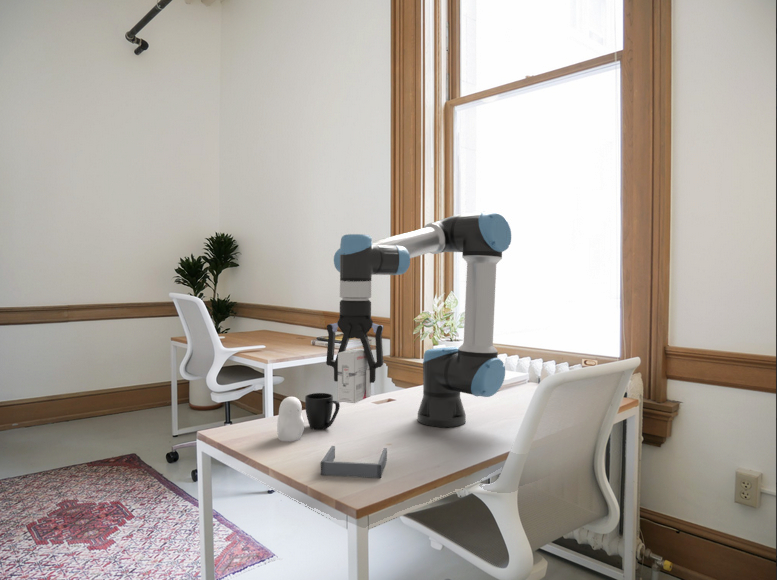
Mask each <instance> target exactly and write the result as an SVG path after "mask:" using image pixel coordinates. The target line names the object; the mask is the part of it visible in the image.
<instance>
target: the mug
mask: <svg viewBox="0 0 777 580" xmlns="http://www.w3.org/2000/svg"><path fill="white" fill-rule="evenodd" d="M333 398H334V396H333V394H330V393H326V392H325V393H324V392H314V393H309V394H306V395H305V397H304V400H305V401H304V403H305V414H306V419H307V422H308V425H309V428H310V429H311V430H316V431H319V430H321V431H322V430H326V429H328V428H330V427H331V426H332V425H333V423H334V422H335V419H336V417H337V416H338V414H339V410H340V408H341V406H340V404H341V403H340V401H338V400H334V399H333ZM334 404H335V407H334V408H335V409H334V411H333V405H334ZM332 414H333V415H332Z"/></svg>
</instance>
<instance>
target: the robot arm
mask: <svg viewBox="0 0 777 580" xmlns="http://www.w3.org/2000/svg"><path fill="white" fill-rule="evenodd" d="M372 239H373V238H372V236H371V235H369V234H360V233H359V234H358V233H356V234H355V233H353V234H352V233H350V234H349V233H348V234H344V235H342V236H341V238H340V244H339V245H340V246H339V248H338V249H337V250H336V251H335V253H334V256H333V264H334V268H335V269H336V271H338V272H339V280H340V281H339V298H341V300H340V301H339V317H338V320H337V322H334V323H329V324H327V325H326V330H327V334H328V335H327V336H328V337H327V339H328V340H327V347H326V348H327V349H326V350H327V351H326V360H325V361H326V365H327V366H328V367H329V366H330V367H332V368H333V381H334V382H337V383H338V353H339V352H343V351H347V347H348V343H349V341H350V339H359V340H360V343H361V344H362V347H363V348H362V349H364V351H365V355H366V358H367V361H368V365H369V368H368V369H367V370H366V397H368V398H370V397H371V395H372V383H376V382H375V381H376V370H377V369H378V368H381V367H382V366H383V365H384V353H383V352H384V350H383V332H384V331H383V330H384V325H383V324H377V323H374V321H373V319H372V302H371V300H370V299H371V298H372V276H373V275H374V276H375V275H376V276H378V275H379V276H385V275H386V276H390V275H391V276H399V275H400V276H401V275H404V274H405V273H406V272H408V269H409V268H410V267H411V259H413V258H416V257H420V256H422V255H423V256H424V255H426V254H431V255H436V254H437V255H438V254H441V253H461V254H462V257H461V258H462V259H463V260H464V261H465V262H466V280H465V281H466V282H465V283H466V284H465V285H466V286H465V301H464V302H465V305H464V322H463V323H464V325H463V343H462V344H461V345H460V346H449V347H435V348H429V349H426V350H425V351H424V353H423V360H422V380H423V381H422V382H423V383H422V385H423V386H422V388H423V389H422V390H423V393H422V395H423V396H422V399H421V401H420V405H419V407H418V411H417V422H419V423H420V424H421V425H425V426H430V427H437V428H452V427H458V426H462V425H464V424H465V423H466V421H467V420H466V415H467V414H466V411H465V409H464V404H463V401H462V397H461V393H463V394H467V395H472V396H475V397H481V398H482V397H484V398H490V397H492V396H494V395H496V394H497V393H498V392H499V390H500V389H501V388H502V386H503V384H504V381H505V376H506V366H505V364H504V361H503V360H501V359H500V358H498V352H499V351H498V349H497V348H496V347H495V346H494V324H495V306H496V305H495V304H496V303H495V302H496V284H497V283H496V279H497V278H496V277H497V264H498V263H499V262H500V261H501V260H502V259H503V252H505V251H506V250H508V249H509V247H510V245H511V242H512V231H511V227H510V224H509V222H508V220H507V219H506V217H505V216H504V215H503V214H501V213H500V212H497V211H482V212H471V213H463V214H461V213H459V214H454V215H450V216H448V217H446V218H442V219H439V220H437V221H434V222H430V223H427V224H425V225H424V226H423V228H419V229H416V230H412V231H407V232H404V233H399V234H396V235H392V236H389V237H384V238H382V239H377V240H372ZM338 328H339V329H340V331H341V332H342V334H343V335H342V338H341V342H340V345H339V349H338V351H337V355H336V357H335V347H336V346H335V344H336V333H337V331H338ZM371 329H373V333H374V334H375V335H374V336H375V337H374V338H375V355H376V361H375V358H374V355H373V352H372V347H371V345H370V341H369V337H368V333H369V332H370V330H371ZM334 358H335V360H334Z"/></svg>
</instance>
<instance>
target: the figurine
mask: <svg viewBox="0 0 777 580" xmlns="http://www.w3.org/2000/svg"><path fill="white" fill-rule="evenodd" d="M302 410H303V407H302V402H301V401H300V399H298V397H295V396H288V397H284V399H283V400H282V401H281V403H280V405H279V408H278V416H277V425H276V426H277V431H276V433H277V438H278V440H279V441H281V442H296V441H298V440H300V439H301V437H302V434H303V432H304V430H305V421H304V418H303V415H302V412H303V411H302Z"/></svg>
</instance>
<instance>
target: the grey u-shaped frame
mask: <svg viewBox="0 0 777 580" xmlns="http://www.w3.org/2000/svg"><path fill="white" fill-rule="evenodd" d="M335 458H336V446H335V445H331V446H330V448H329V449H328V451H327V452H326V453H325V455H324V457H323V458H322V460H321V461H320V475H321V476H329V477H330V476H332V477H354V478H355V477H357V478H373V479H376V478H377V479H381V478H382V475H383V474H384V470H385V467H386V464H387V461H388V448H387V447H384V448H383V449H382V452H381V454H380V457H379V460H378V462H377V463H376V462H375V463H374V462H373V463H371V462H356V461H355V462H351V461H334V460H335Z"/></svg>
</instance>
